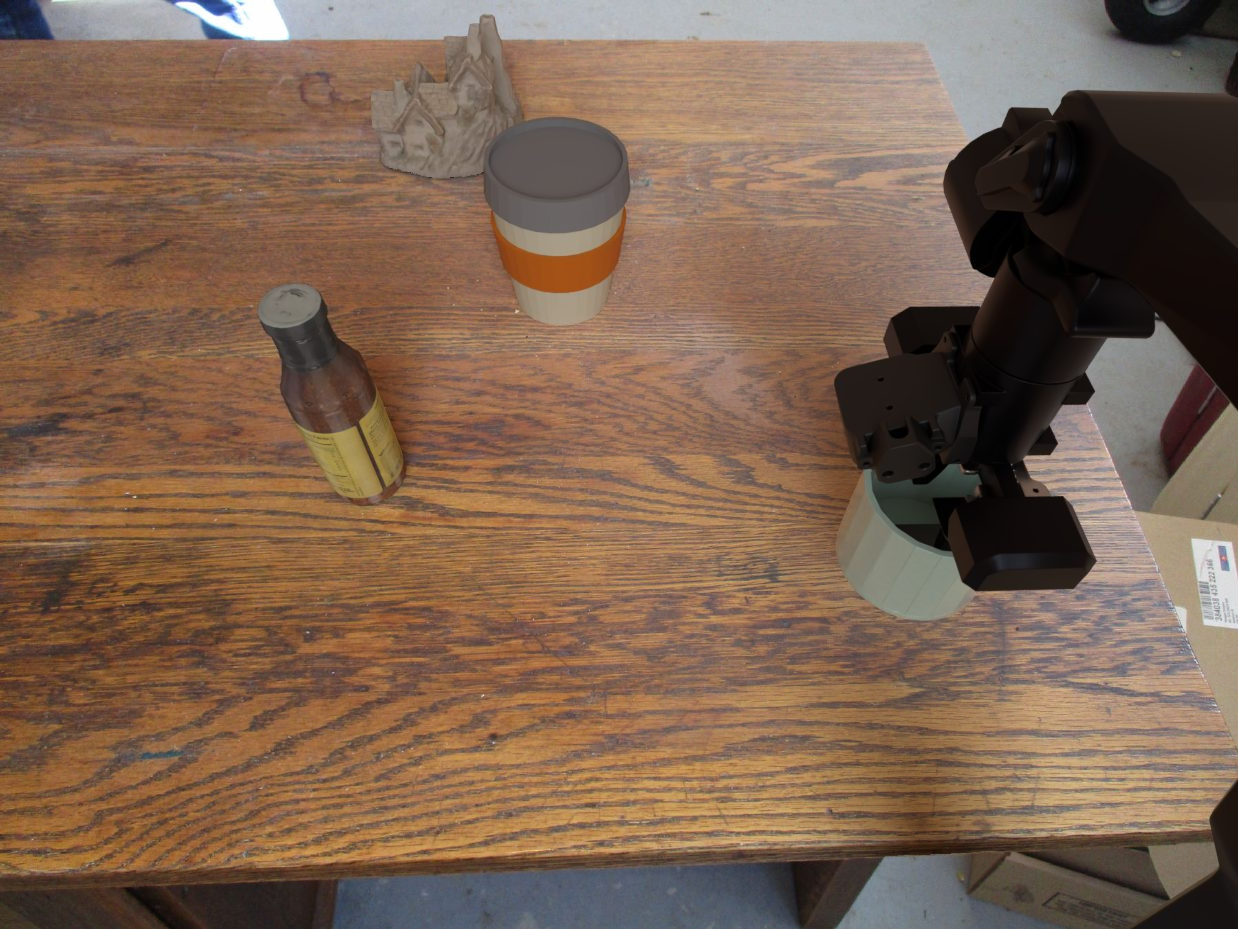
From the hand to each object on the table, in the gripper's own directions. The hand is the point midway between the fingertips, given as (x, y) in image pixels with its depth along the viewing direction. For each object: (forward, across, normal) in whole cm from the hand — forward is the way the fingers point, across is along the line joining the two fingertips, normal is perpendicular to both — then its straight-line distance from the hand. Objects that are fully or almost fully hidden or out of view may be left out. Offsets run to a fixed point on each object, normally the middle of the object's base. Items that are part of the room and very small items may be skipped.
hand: (930, 517), depth 54 cm
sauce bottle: (+11, -12, -40) cm, 43 cm away
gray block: (+4, 0, 0) cm, 4 cm away
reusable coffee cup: (+10, -34, -24) cm, 43 cm away
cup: (+5, 0, 0) cm, 5 cm away
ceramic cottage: (+10, -60, -37) cm, 71 cm away
